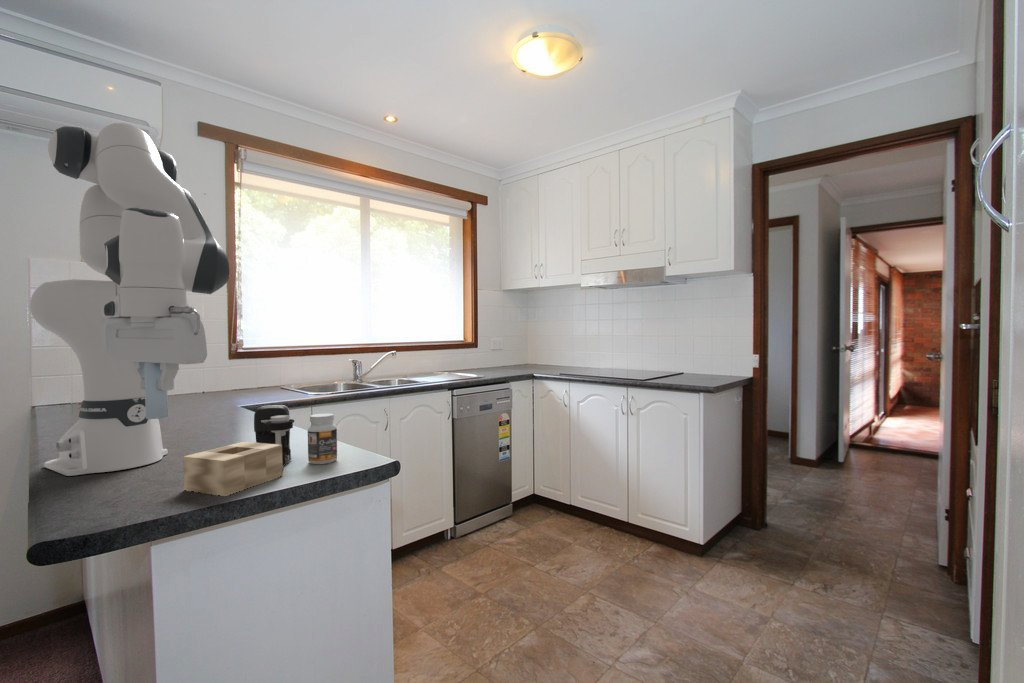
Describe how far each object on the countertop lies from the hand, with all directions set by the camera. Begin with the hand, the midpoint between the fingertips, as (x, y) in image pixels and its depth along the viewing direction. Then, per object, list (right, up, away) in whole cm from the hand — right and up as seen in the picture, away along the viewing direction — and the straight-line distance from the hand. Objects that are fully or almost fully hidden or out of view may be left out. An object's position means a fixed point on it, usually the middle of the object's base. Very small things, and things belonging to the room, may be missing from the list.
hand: (156, 389), depth 80 cm
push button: (+11, -18, +20) cm, 29 cm away
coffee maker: (+7, -18, +25) cm, 32 cm away
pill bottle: (+19, -18, +22) cm, 34 cm away
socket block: (+9, -18, +8) cm, 21 cm away
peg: (0, -5, 0) cm, 5 cm away
